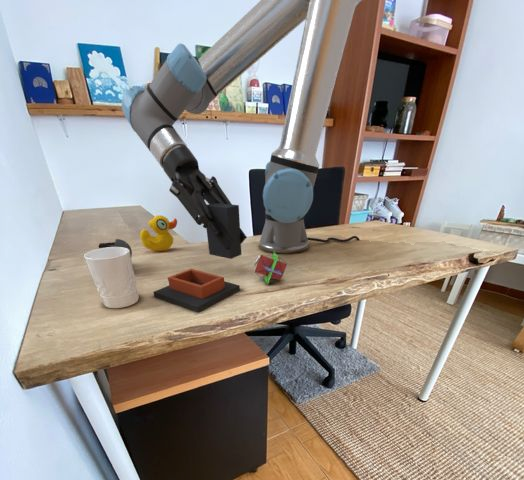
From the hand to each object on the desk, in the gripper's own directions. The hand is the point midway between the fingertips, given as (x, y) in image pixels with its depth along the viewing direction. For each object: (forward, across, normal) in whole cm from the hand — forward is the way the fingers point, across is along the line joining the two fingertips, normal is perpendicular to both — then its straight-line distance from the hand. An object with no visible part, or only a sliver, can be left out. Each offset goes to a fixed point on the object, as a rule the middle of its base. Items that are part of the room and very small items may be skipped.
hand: (236, 243), depth 68 cm
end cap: (-14, +14, -25) cm, 32 cm away
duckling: (-18, -4, -29) cm, 35 cm away
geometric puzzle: (+12, -1, 0) cm, 12 cm away
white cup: (-2, +25, -13) cm, 29 cm away
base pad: (+5, +14, -6) cm, 16 cm away
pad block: (0, 0, -5) cm, 5 cm away
